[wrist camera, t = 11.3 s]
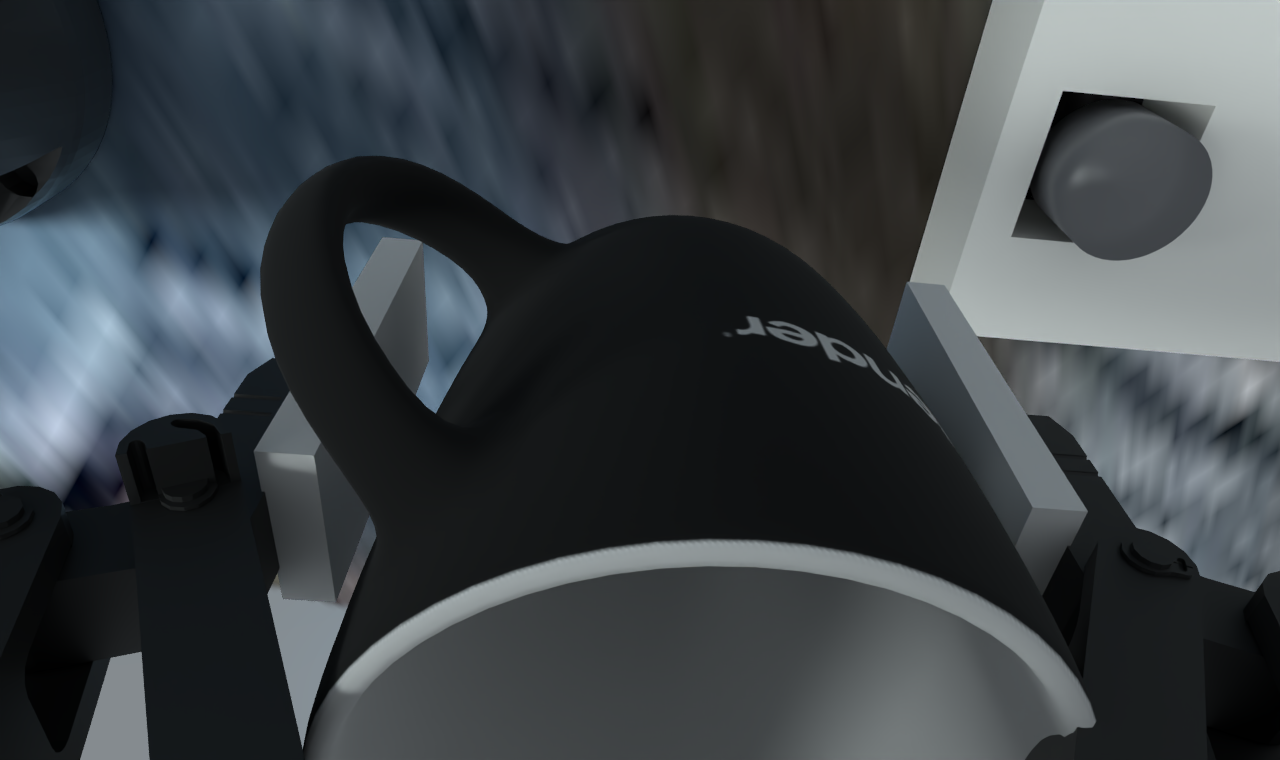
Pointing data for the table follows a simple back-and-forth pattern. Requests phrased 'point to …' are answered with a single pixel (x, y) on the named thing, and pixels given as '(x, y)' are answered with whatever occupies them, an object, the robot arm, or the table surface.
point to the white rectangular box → (1175, 90)
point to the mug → (648, 508)
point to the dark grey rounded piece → (1121, 179)
